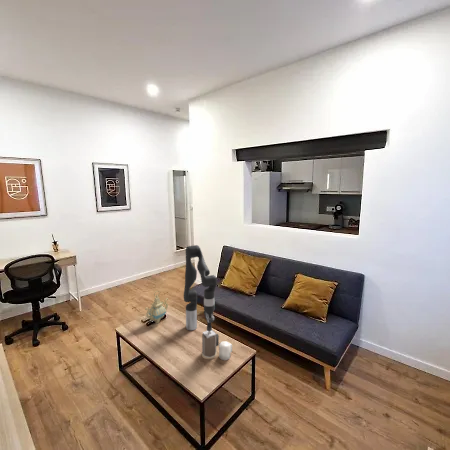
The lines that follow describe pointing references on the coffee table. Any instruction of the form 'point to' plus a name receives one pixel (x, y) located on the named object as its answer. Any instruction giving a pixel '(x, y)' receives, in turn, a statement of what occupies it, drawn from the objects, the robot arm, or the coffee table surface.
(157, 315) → the teapot
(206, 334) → the carafe
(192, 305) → the robot arm
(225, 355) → the mug
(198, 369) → the coffee table surface
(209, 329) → the plunger
